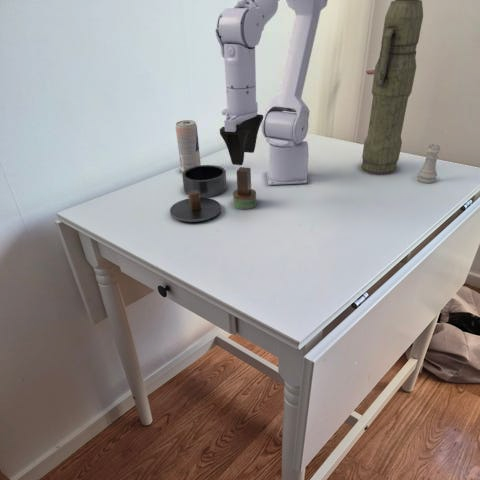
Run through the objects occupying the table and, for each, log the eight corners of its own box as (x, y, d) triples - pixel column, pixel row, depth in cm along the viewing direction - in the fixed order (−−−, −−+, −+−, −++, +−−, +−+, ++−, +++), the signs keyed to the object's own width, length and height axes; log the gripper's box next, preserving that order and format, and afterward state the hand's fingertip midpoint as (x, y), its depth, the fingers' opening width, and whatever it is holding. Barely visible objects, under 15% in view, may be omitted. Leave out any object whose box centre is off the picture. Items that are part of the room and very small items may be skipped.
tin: (226, 179, 108) (225, 164, 105) (226, 196, 100) (225, 180, 97) (186, 181, 108) (184, 166, 105) (182, 198, 100) (180, 182, 97)
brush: (237, 198, 98) (236, 164, 93) (259, 200, 97) (258, 166, 92) (230, 208, 95) (228, 172, 90) (252, 210, 93) (251, 174, 88)
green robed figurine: (405, 164, 110) (439, -4, 88) (384, 179, 103) (416, 0, 81) (373, 158, 115) (399, -4, 92) (351, 171, 108) (373, 0, 86)
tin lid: (221, 200, 98) (220, 181, 95) (220, 223, 89) (219, 202, 86) (173, 203, 98) (170, 183, 95) (167, 225, 89) (164, 204, 86)
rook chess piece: (415, 182, 101) (423, 148, 96) (416, 175, 104) (424, 142, 99) (435, 184, 100) (444, 149, 95) (436, 177, 103) (445, 143, 98)
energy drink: (202, 166, 115) (198, 119, 108) (199, 174, 111) (194, 125, 104) (183, 166, 116) (177, 120, 108) (179, 174, 112) (173, 126, 104)
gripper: (234, 77, 87) (237, 145, 95) (207, 93, 76) (213, 168, 85) (266, 78, 85) (267, 147, 93) (243, 95, 74) (246, 171, 83)
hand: (243, 158), depth 89 cm, fingers open, 7 cm apart
